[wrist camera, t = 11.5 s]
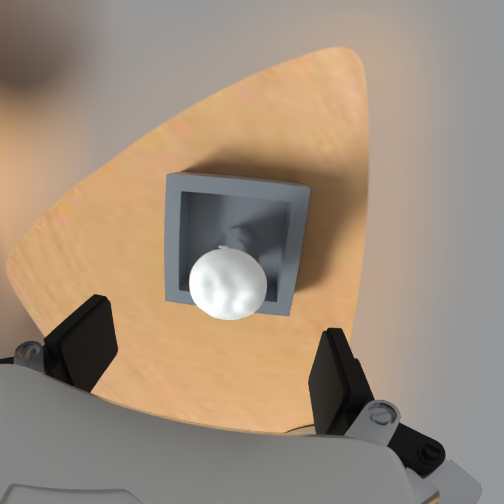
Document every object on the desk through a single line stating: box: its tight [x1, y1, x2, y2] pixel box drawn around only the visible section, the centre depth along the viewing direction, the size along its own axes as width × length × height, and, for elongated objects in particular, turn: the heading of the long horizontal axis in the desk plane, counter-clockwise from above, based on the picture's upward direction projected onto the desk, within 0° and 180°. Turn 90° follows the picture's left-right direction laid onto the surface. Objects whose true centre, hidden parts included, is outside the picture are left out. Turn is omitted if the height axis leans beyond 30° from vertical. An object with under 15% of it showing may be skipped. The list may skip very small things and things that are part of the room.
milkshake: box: [189, 226, 267, 320], centre depth 19 cm, size 4×5×10 cm
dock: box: [164, 172, 311, 316], centre depth 22 cm, size 10×10×4 cm
